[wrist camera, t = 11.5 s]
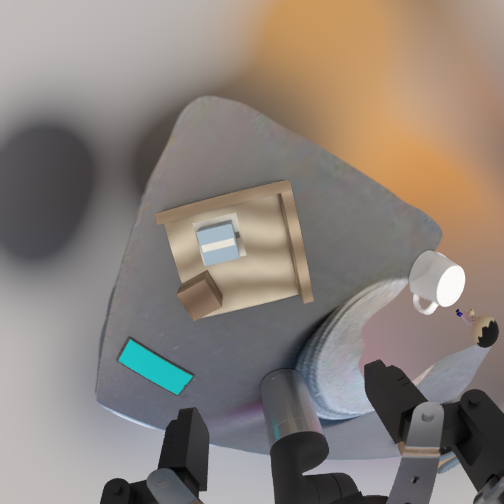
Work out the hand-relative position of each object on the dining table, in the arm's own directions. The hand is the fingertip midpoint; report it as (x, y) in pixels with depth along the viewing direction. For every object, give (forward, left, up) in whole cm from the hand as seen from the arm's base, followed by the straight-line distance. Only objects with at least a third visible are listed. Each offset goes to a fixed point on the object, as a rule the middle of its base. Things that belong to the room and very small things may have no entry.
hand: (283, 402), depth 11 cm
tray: (-1, +2, -36) cm, 36 cm away
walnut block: (-5, +9, -34) cm, 36 cm away
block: (+2, +4, -34) cm, 34 cm away
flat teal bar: (-20, +24, -36) cm, 48 cm away
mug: (-15, -33, -36) cm, 51 cm away
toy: (-28, -45, -36) cm, 64 cm away
